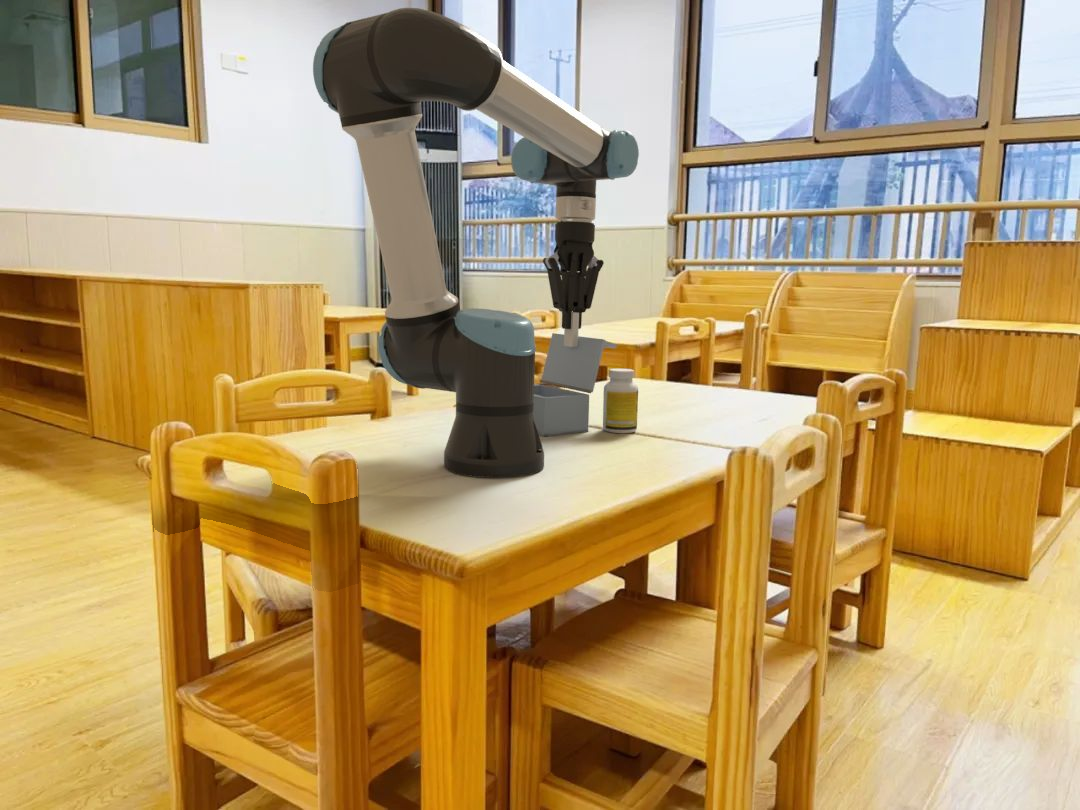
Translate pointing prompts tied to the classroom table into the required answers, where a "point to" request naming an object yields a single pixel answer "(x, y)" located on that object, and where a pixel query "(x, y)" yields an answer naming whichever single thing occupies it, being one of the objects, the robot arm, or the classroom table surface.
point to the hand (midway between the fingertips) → (570, 346)
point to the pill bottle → (620, 402)
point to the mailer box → (560, 411)
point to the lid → (574, 363)
